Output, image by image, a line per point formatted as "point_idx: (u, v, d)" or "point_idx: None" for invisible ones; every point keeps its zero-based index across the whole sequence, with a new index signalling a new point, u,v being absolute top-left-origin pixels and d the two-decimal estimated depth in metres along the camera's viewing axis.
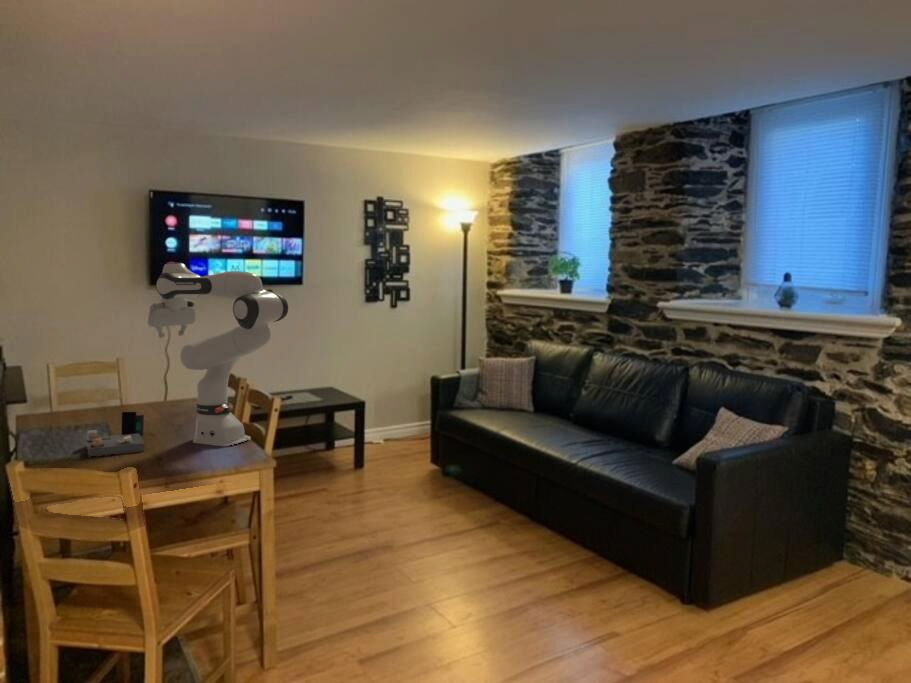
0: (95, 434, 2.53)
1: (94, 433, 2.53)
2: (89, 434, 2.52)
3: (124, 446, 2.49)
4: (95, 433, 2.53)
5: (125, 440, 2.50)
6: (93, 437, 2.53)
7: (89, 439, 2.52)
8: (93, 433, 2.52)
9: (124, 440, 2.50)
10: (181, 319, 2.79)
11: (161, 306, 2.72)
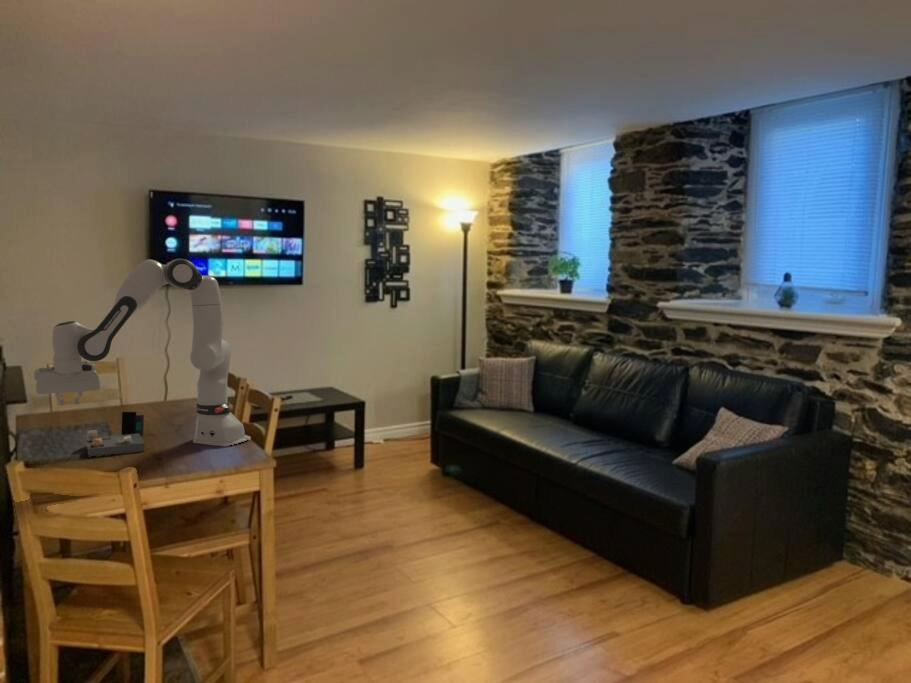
0: (95, 434, 2.53)
1: (94, 433, 2.53)
2: (89, 434, 2.52)
3: (124, 446, 2.49)
4: (95, 433, 2.53)
5: (125, 440, 2.50)
6: (93, 437, 2.53)
7: (89, 439, 2.52)
8: (93, 433, 2.52)
9: (124, 440, 2.50)
10: (78, 385, 2.48)
11: (49, 371, 2.45)
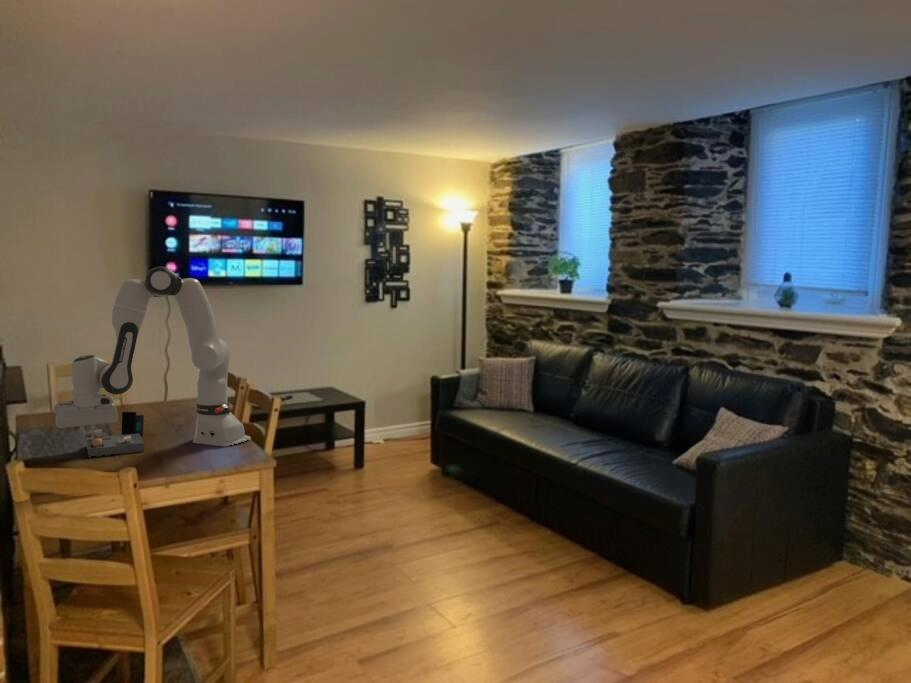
0: (100, 434, 2.54)
1: (99, 433, 2.53)
2: (94, 434, 2.53)
3: (124, 446, 2.49)
4: (100, 433, 2.54)
5: (125, 440, 2.50)
6: (98, 436, 2.53)
7: None
8: (98, 433, 2.53)
9: (124, 440, 2.50)
10: (96, 418, 2.52)
11: (69, 405, 2.49)
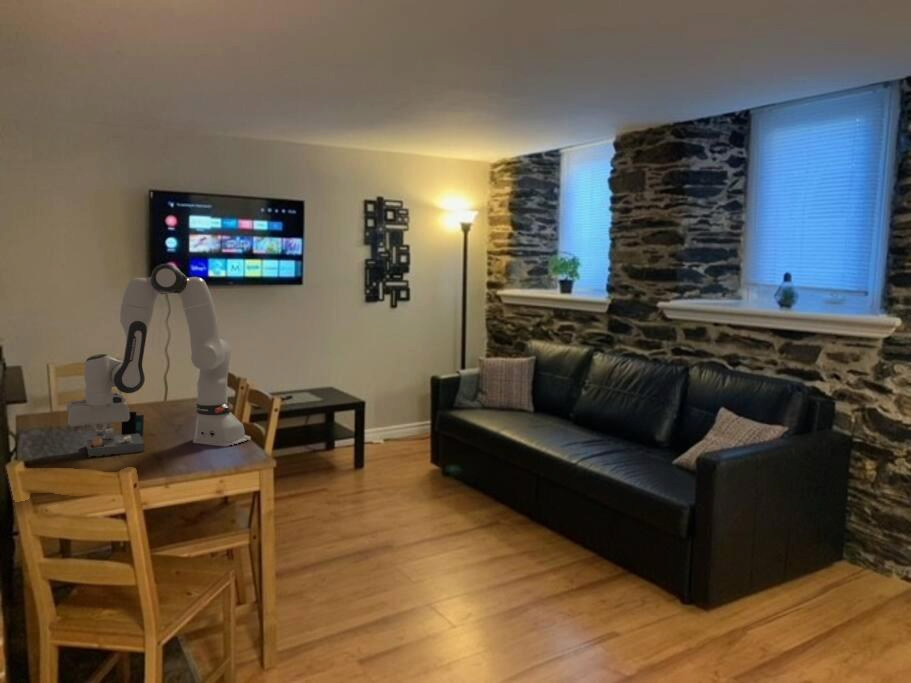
0: (112, 432, 2.56)
1: (111, 431, 2.55)
2: (106, 432, 2.55)
3: (124, 446, 2.49)
4: (112, 431, 2.56)
5: (125, 440, 2.50)
6: (110, 435, 2.55)
7: (106, 437, 2.55)
8: (110, 431, 2.55)
9: (124, 440, 2.50)
10: (108, 416, 2.55)
11: (81, 403, 2.51)
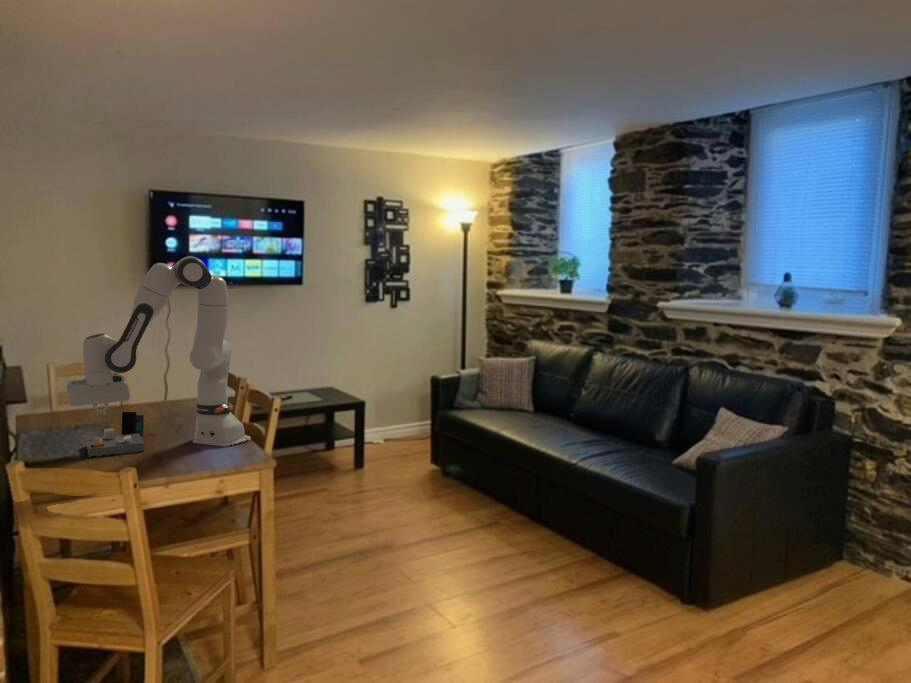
0: (112, 432, 2.56)
1: (111, 431, 2.55)
2: (106, 432, 2.55)
3: (124, 446, 2.49)
4: (112, 431, 2.56)
5: (125, 440, 2.50)
6: (110, 435, 2.55)
7: (106, 437, 2.55)
8: (110, 431, 2.55)
9: (124, 440, 2.50)
10: (109, 396, 2.54)
11: (81, 383, 2.50)
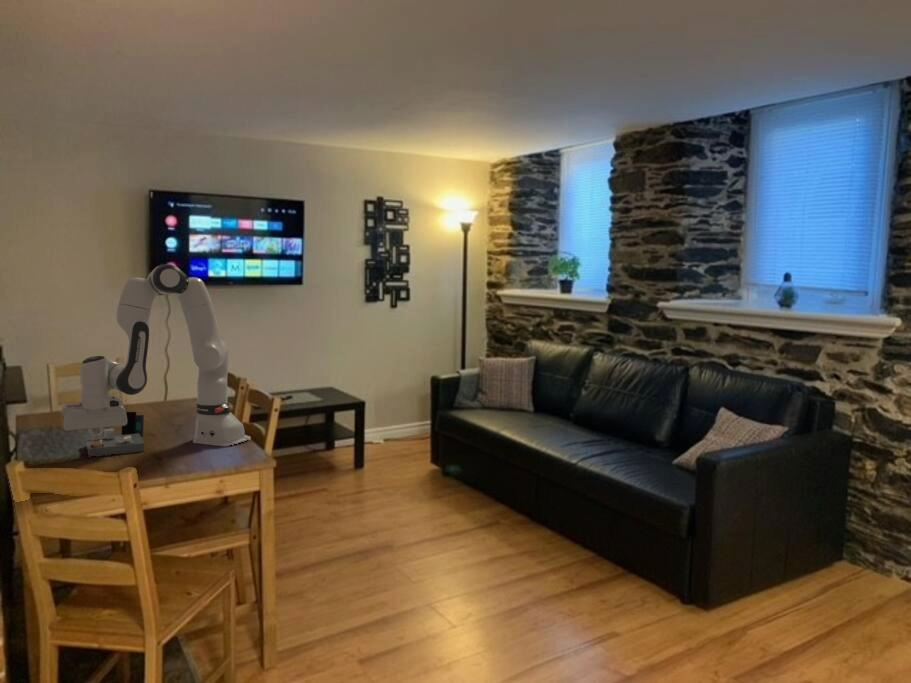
0: (112, 432, 2.56)
1: (111, 431, 2.55)
2: (106, 432, 2.55)
3: (124, 446, 2.49)
4: (112, 431, 2.56)
5: (125, 440, 2.50)
6: (110, 435, 2.55)
7: (106, 437, 2.55)
8: (110, 431, 2.55)
9: (124, 440, 2.50)
10: (105, 420, 2.46)
11: (77, 407, 2.42)
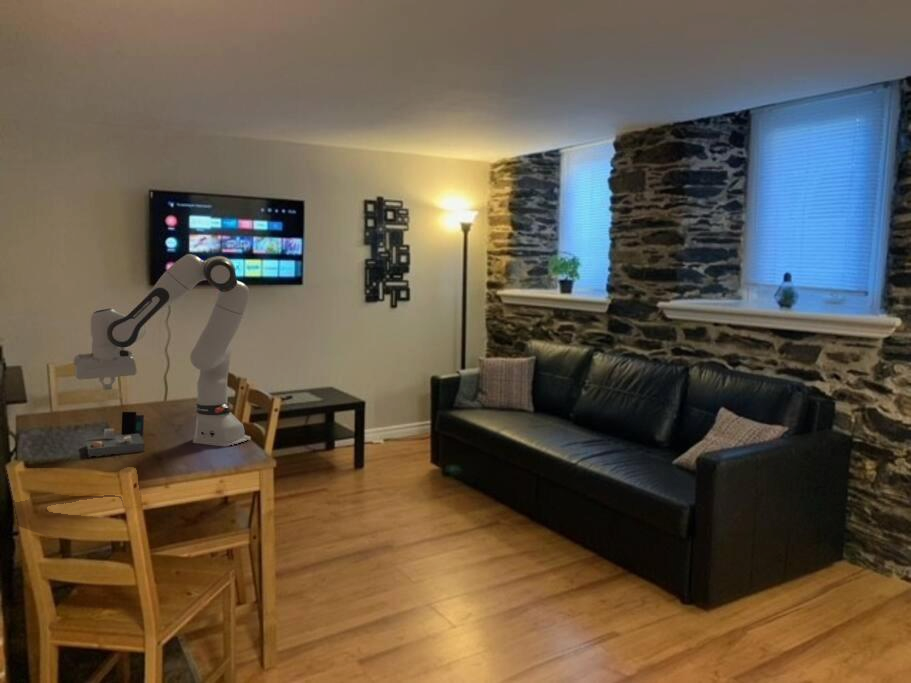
0: (112, 432, 2.56)
1: (111, 431, 2.55)
2: (106, 432, 2.55)
3: (124, 446, 2.49)
4: (112, 431, 2.56)
5: (125, 440, 2.50)
6: (110, 435, 2.55)
7: (106, 437, 2.55)
8: (110, 431, 2.55)
9: (124, 440, 2.50)
10: (115, 370, 2.57)
11: (88, 357, 2.53)
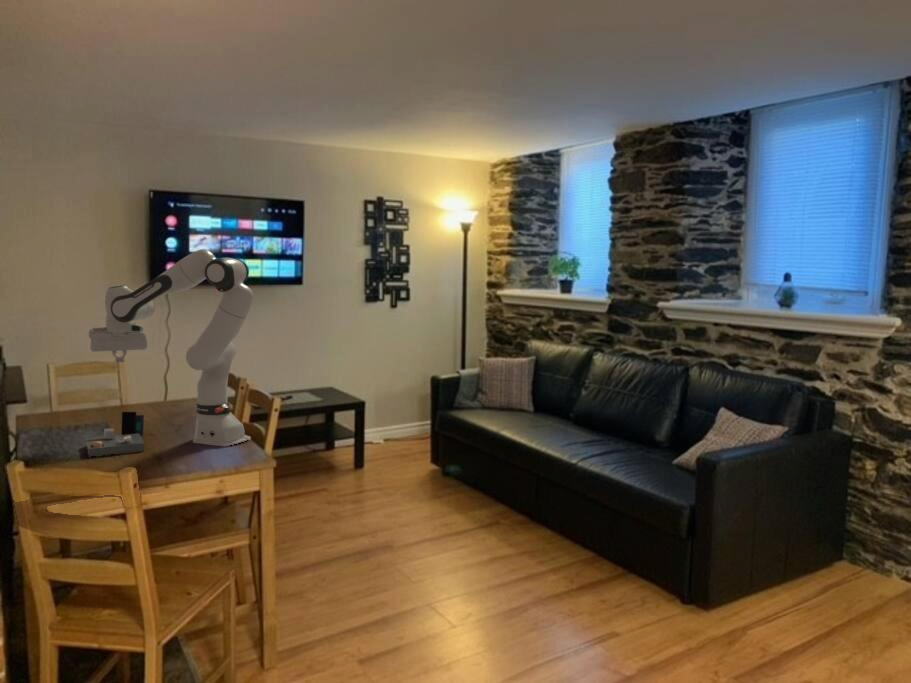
0: (112, 432, 2.56)
1: (111, 431, 2.55)
2: (106, 432, 2.55)
3: (124, 446, 2.49)
4: (112, 431, 2.56)
5: (125, 440, 2.50)
6: (110, 435, 2.55)
7: (106, 437, 2.55)
8: (110, 431, 2.55)
9: (124, 440, 2.50)
10: (127, 344, 2.72)
11: (102, 330, 2.68)
